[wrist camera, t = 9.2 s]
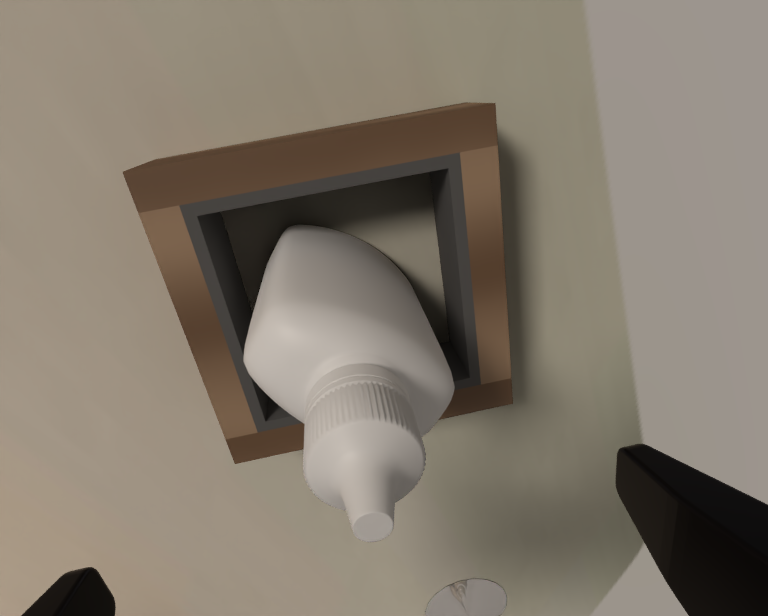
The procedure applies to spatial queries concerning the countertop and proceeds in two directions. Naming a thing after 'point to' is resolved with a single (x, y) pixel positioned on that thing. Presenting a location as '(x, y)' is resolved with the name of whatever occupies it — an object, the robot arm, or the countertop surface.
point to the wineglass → (468, 599)
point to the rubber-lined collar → (315, 175)
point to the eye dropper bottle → (349, 369)
